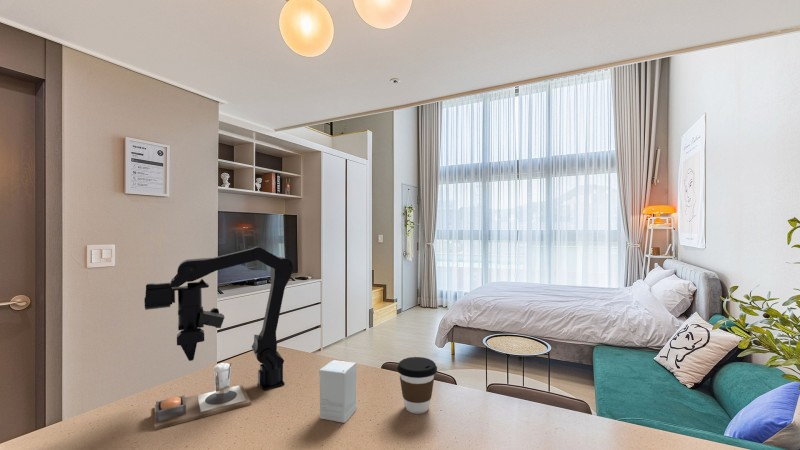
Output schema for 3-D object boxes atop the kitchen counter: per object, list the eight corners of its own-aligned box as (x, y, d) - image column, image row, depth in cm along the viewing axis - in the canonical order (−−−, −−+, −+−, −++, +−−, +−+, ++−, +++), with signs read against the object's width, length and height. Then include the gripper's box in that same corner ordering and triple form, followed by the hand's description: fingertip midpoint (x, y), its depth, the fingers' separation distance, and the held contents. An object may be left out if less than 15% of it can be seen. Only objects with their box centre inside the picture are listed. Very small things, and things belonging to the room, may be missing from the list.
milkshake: (225, 401, 98) (225, 365, 98) (209, 399, 99) (209, 363, 99) (236, 393, 102) (237, 359, 102) (220, 392, 103) (220, 357, 103)
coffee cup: (445, 407, 97) (445, 363, 97) (419, 423, 89) (419, 375, 89) (414, 394, 104) (414, 353, 104) (388, 408, 96) (388, 363, 96)
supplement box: (357, 409, 95) (357, 362, 96) (344, 424, 88) (344, 373, 89) (333, 405, 98) (333, 359, 98) (318, 418, 91) (318, 369, 91)
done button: (180, 406, 95) (180, 395, 95) (181, 413, 92) (181, 402, 92) (160, 411, 93) (160, 400, 93) (160, 419, 89) (160, 407, 89)
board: (242, 386, 109) (242, 376, 109) (251, 404, 98) (251, 393, 98) (154, 407, 96) (154, 395, 96) (154, 430, 86) (154, 416, 86)
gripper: (224, 307, 96) (226, 365, 96) (219, 295, 112) (220, 345, 112) (176, 313, 90) (177, 374, 90) (178, 300, 106) (179, 352, 106)
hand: (191, 360), depth 100 cm, fingers closed
